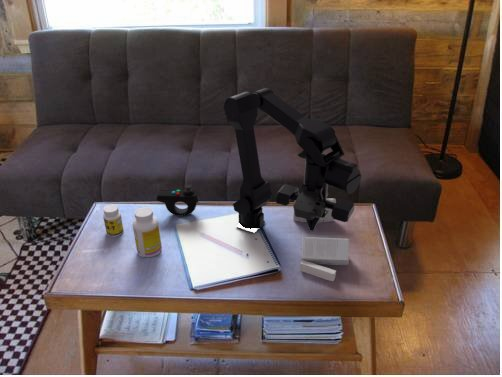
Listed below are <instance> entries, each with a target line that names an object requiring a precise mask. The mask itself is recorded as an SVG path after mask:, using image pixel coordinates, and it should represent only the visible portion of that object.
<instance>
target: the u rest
mask: <svg viewBox="0 0 502 377" xmlns="http://www.w3.org/2000/svg"><path fill="white" fill-rule="evenodd" d="M299 264H300V265H299V272H300V271H301V272H303V273H306V274H308V275H311V276H315V277H318V278H320V279H323V280H326V281H330V282H334V281H335V279H336V274H337V270H335V269H331V268H329V267H326V266H323V265H321V264H314V263H311V262H308V261H305V260H302V259H301V262H300V263H299Z"/></svg>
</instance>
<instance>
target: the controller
mask: <svg viewBox="0 0 502 377" xmlns="http://www.w3.org/2000/svg"><path fill="white" fill-rule="evenodd" d="M198 192H199V191H198V189H193V188H192V184H186V185H184V188H183V189H161V190H159V191H158V192H157V194H156V201H157V202H160V203H163V204H164V205H165V207H166V210H167V211H168V212H169V213H170V214H172V215H174V216H177V217H186V216H188V215H189V216H190V215H191V214H192V213H193V212H194V211H195V210H196V207H197V203H199V195H198ZM176 203H184V204H186V205H187V206H186V207H185V208H179V207H178V206H177V205H176Z"/></svg>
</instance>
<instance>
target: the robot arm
mask: <svg viewBox="0 0 502 377" xmlns="http://www.w3.org/2000/svg"><path fill="white" fill-rule="evenodd" d="M258 109H259V110H261V112H264V114H266V115H267V116H269V117H270V118H271V119H273V120H274V121H275V122H276V123H277V124H279V125H280V126H282V127H283V128H285V130H287V131H288V132H289V133H291V134H292V135H293V136H294V138H295V141H296V143H297V145H298V146H299V147H300V148H301V149H302V151H301V152H299V153H297V156H298V157H299V158H300V159H304V162H305V163H304V176H303V182H302V184H301V189H300V188H299V187H297V186H294V185H289V184H287V183H285V184H284V185H282V186H281V187H280V189H279V190H278V191H277V193H276V194H275V203H276V204H278V205H282V206H284V207H285V206H288V205H289V204H290V203H291V200H292V201H294V202H295V203H294V202H293V205H292V206H293V215H294V214H295V216H296V217H301V218H304V219H306V220H307V222H306V224H307V226H308V228H309V231H311V232H314V231H315V229H316V227H317V225H318V223H319V222H318V221H319V219H320V218H324V217H325V216H326V215H327V213H328V212H329V211H332V213H331V216H332V217H333V219H334V221H339V222H341V223H346V222H349V220H350V218H351V216H352V215H353V213H354V211H355V206H356V204H355V203H354V202H353V201H351V200H348V199H344V198H341V197H340V198H338V199H337V200H336V203H333V202H331V200H330V199H327V198H328V196H329V191H328V188H329V187H328V186H331V187H333V188H336V189H338V190H340V191H342V192H345V193H347V194H353V193H354V192H355V191H356V190H357V189H358V187H359V185H360V183H361V179H362V174H361V171H360V170H359V169H358V163H357V164H356V163H354V162H350V161H347V160H344V159H343V158H342V157H344V156H345V152H344V150H343V148H342V146H341V144H340V141H339V139H338V136H337V135H336V130H335V129H334V128H333V126H330V125H328V124H327V123H324V122H323V121H321V120H318V119H312V118H308V117H307V116H305V115H303V113H301V112H300V111H298V110H297V109H296V108H294V107H292V106H291V105H290V104H288V103H287V102H286V101H285V100H283V99H282V98H280V97H279V96H277V95H276V94H275V93H274V91H273V90H272V89H270V88H266V87H265V88H262V89H258V90H257V91H254V92H253V93H251V92H249V91H243V92H241V93H238V94H235V95H233V96H230V97H227V99H225V101H224V103H223V111H224V113H225V116H226V120H227V122H228V123H229V124H230V126H231V127H232V128H233V129H234V131H235V132H234V133H235V137H236V144H237V149H238V155H239V161H240V166H241V167H240V169H241V173H242V178H243V179H242V182H241V185H240V187H239V188H240V189H239V200H237V201H235V202H233V204H232V206H233V210H234V211H235V212H236V213H238V223H240V224H241V225H242V226H243V227H245V228H250V229H251V228H260V229H262V227H263V226H264V224H265V222H266V221H265V214H264V212H263V207H264V206H266V205H267V204H268V203H269V202H270V200H271V198H272V197H271V196H272V195H273V193H272V190H271V183H270V181H266V180H265V179H264V178H263V177H262V173H261V167H260V159H259V154H258V148H257V140H256V134H255V123H256V121H257V117H258ZM330 149H331V150H332V151H330V152H328V153H327V154H326V153H325V152H327V151H329V150H330ZM299 189H300V190H299Z"/></svg>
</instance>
